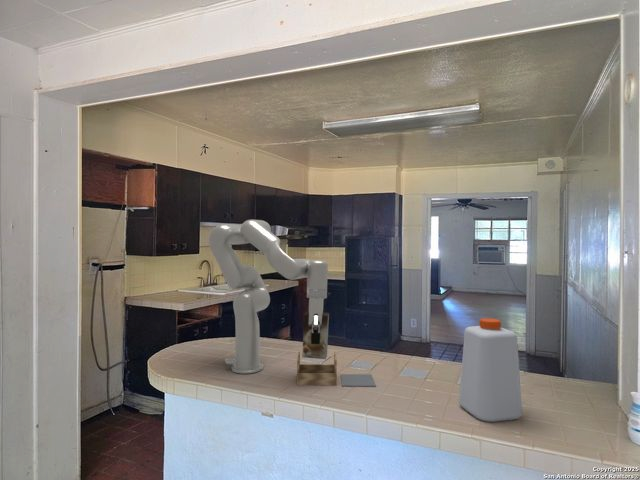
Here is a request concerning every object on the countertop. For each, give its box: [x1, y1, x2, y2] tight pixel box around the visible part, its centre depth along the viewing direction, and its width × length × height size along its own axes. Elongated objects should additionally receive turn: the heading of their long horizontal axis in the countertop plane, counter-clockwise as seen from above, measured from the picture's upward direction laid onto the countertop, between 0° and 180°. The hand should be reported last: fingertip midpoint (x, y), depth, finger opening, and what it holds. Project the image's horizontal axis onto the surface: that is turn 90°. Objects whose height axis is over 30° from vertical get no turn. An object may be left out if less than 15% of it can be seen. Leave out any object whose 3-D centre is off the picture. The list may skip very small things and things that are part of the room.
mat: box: [339, 373, 377, 388], centre depth 149 cm, size 12×12×1 cm
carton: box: [296, 351, 338, 386], centre depth 150 cm, size 14×11×9 cm
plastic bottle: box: [458, 317, 523, 423], centre depth 123 cm, size 15×15×28 cm
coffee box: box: [301, 310, 330, 360], centre depth 150 cm, size 9×6×16 cm
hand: (315, 340), depth 150 cm, fingers closed on coffee box, 6 cm apart
